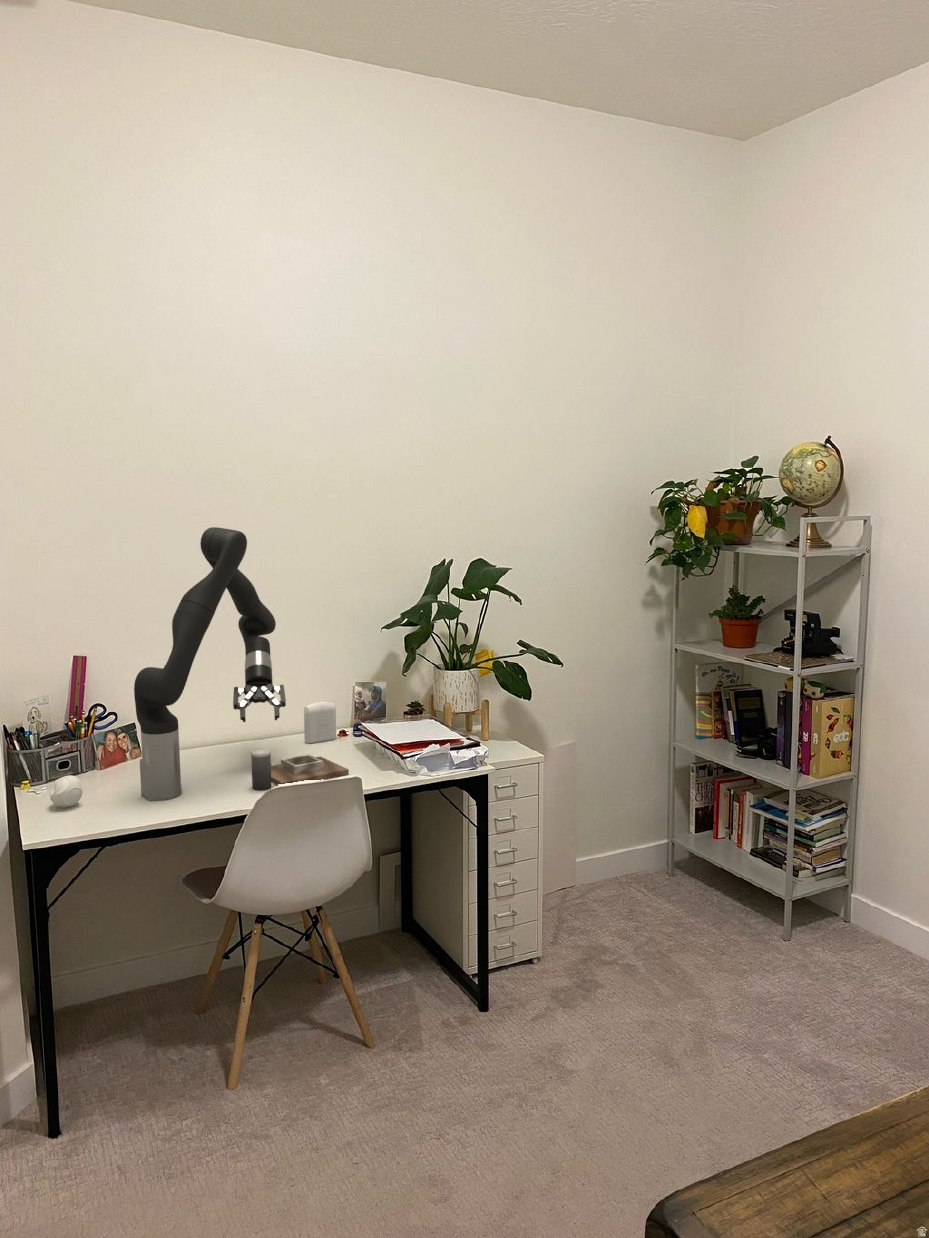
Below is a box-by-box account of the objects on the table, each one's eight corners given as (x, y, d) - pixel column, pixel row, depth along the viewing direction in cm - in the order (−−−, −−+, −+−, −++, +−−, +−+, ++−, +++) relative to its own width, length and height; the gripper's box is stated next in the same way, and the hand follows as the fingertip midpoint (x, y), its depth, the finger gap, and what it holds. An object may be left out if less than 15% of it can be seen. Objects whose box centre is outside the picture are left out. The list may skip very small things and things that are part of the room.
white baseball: (50, 803, 241) (48, 773, 240) (83, 799, 244) (81, 770, 243) (51, 813, 233) (49, 782, 232) (84, 809, 236) (82, 778, 235)
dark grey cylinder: (257, 791, 249) (256, 754, 248) (249, 787, 253) (247, 750, 252) (274, 788, 252) (273, 751, 251) (266, 783, 256) (265, 747, 255)
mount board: (282, 788, 252) (282, 773, 252) (256, 774, 265) (255, 760, 264) (348, 774, 264) (348, 760, 263) (320, 761, 277) (320, 747, 276)
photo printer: (332, 736, 304) (331, 698, 302) (338, 739, 300) (337, 701, 298) (302, 741, 298) (301, 702, 296) (308, 744, 294) (307, 705, 293)
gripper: (232, 664, 267) (232, 714, 258) (283, 662, 270) (286, 711, 261) (233, 679, 273) (234, 728, 264) (284, 676, 276) (286, 725, 267)
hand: (260, 719), depth 262 cm, fingers open, 8 cm apart
